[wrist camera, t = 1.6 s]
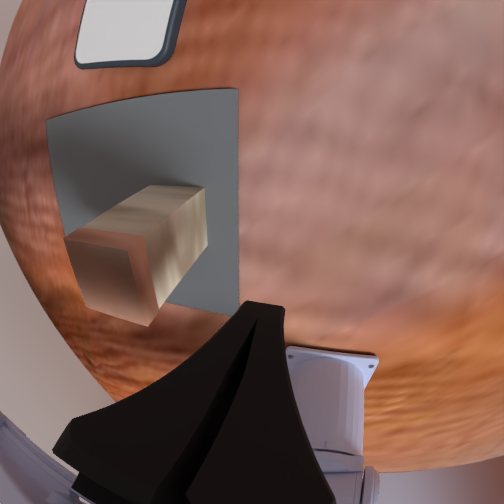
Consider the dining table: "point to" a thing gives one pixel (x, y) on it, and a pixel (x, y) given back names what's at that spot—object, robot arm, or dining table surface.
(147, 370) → the dining table surface
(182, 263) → the maple block
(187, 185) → the rubber mat
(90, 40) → the phone case
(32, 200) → the dining table surface
